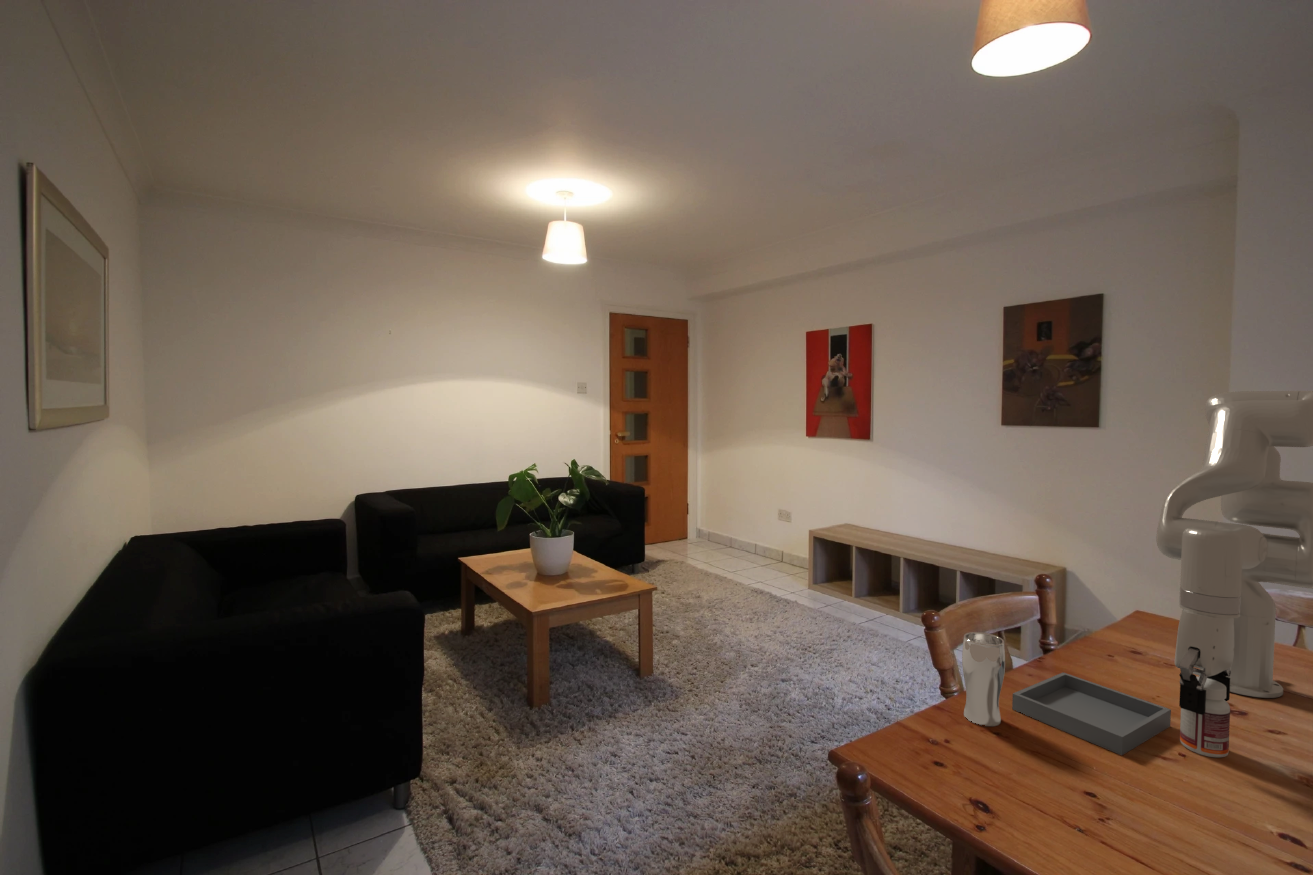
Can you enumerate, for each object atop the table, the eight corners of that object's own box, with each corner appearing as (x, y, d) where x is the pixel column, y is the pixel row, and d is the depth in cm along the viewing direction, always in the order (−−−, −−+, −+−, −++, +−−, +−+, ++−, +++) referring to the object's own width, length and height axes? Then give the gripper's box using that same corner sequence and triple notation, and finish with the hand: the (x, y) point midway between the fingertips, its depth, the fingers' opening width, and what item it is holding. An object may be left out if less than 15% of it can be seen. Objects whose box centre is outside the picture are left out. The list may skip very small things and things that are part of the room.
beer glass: (1001, 713, 116) (1003, 634, 115) (1005, 731, 110) (1007, 648, 109) (960, 706, 119) (962, 629, 118) (961, 722, 112) (963, 642, 112)
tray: (1062, 687, 126) (1063, 672, 126) (1170, 726, 111) (1170, 709, 111) (1012, 709, 117) (1012, 693, 117) (1121, 755, 102) (1122, 736, 102)
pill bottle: (1233, 751, 103) (1236, 684, 102) (1221, 763, 99) (1224, 694, 99) (1186, 735, 108) (1189, 671, 107) (1173, 745, 105) (1176, 680, 104)
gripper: (1202, 589, 110) (1197, 684, 111) (1158, 603, 101) (1153, 706, 102) (1259, 601, 103) (1254, 701, 104) (1217, 616, 95) (1212, 726, 95)
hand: (1204, 704), depth 103 cm, fingers open, 9 cm apart
